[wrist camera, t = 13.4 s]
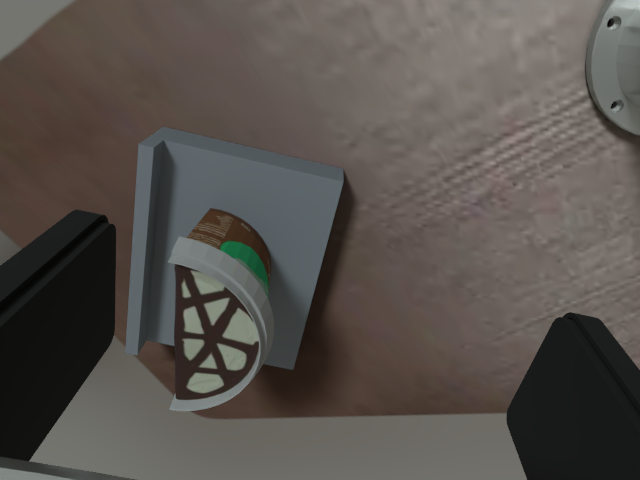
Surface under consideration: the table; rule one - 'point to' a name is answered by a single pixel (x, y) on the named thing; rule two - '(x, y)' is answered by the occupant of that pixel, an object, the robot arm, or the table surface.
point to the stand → (242, 201)
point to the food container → (219, 310)
